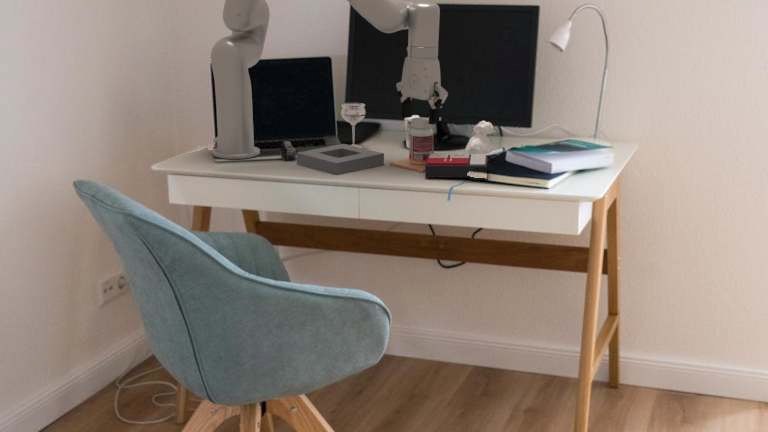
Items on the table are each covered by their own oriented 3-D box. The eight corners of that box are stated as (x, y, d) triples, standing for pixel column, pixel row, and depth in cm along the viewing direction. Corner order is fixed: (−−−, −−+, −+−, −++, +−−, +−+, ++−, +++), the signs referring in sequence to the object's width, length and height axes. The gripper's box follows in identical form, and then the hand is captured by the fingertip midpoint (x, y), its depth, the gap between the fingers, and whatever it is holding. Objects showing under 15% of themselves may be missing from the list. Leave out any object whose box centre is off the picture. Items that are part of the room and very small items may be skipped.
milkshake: (416, 144, 273) (416, 109, 270) (422, 148, 268) (423, 112, 265) (401, 145, 271) (401, 110, 269) (407, 149, 267) (407, 113, 264)
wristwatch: (282, 165, 256) (288, 153, 252) (278, 149, 258) (283, 138, 254) (293, 165, 257) (299, 153, 253) (288, 149, 259) (294, 138, 256)
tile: (389, 164, 250) (389, 162, 249) (422, 157, 257) (422, 155, 257) (422, 172, 241) (422, 170, 241) (455, 165, 249) (455, 162, 249)
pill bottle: (437, 163, 248) (438, 120, 245) (417, 166, 245) (418, 122, 242) (424, 158, 253) (424, 116, 250) (404, 161, 250) (404, 118, 247)
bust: (473, 171, 251) (500, 140, 247) (451, 153, 252) (478, 120, 247) (482, 161, 262) (509, 131, 258) (461, 143, 263) (487, 112, 258)
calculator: (428, 151, 244) (487, 151, 242) (428, 168, 245) (487, 168, 244) (424, 162, 234) (487, 162, 232) (425, 179, 235) (487, 180, 233)
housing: (296, 164, 250) (296, 152, 249) (343, 154, 261) (343, 143, 260) (336, 174, 239) (336, 163, 238) (384, 164, 250) (384, 153, 249)
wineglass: (336, 147, 270) (336, 104, 267) (356, 143, 274) (355, 101, 271) (351, 151, 265) (350, 107, 262) (370, 147, 269) (370, 105, 266)
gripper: (388, 50, 245) (386, 116, 250) (437, 58, 233) (434, 128, 238) (409, 48, 250) (407, 113, 255) (458, 56, 238) (455, 124, 243)
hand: (420, 120), depth 246 cm, fingers open, 9 cm apart
